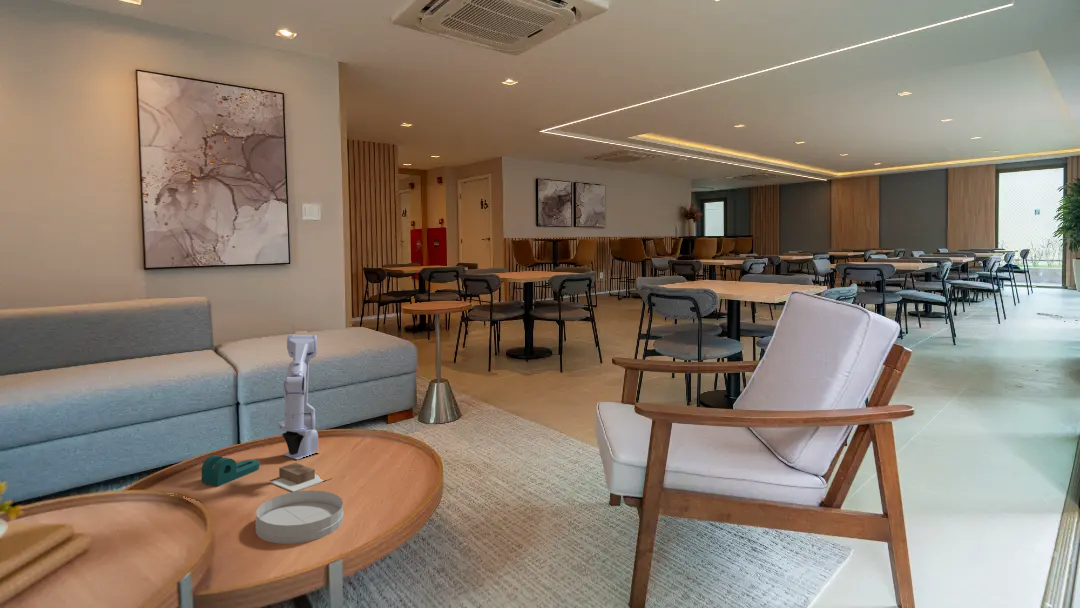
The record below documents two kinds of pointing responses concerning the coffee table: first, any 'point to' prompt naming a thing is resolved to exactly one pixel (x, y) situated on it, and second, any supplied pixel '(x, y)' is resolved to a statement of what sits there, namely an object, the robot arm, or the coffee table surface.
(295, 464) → the walnut block
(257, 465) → the bracket
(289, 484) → the grey mat
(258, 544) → the coffee table surface
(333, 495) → the dish
